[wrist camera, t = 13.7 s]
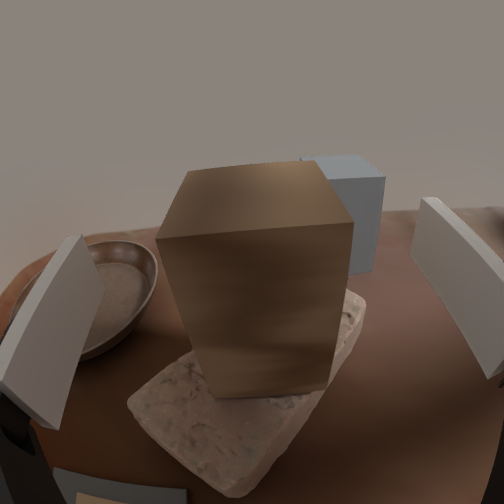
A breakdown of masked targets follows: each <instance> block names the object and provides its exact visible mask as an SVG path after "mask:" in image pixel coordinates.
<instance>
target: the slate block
mask: <svg viewBox="0 0 504 504" xmlns="http://www.w3.org/2000/svg"><path fill="white" fill-rule="evenodd" d="M308 160H315V162H316V163H317V165H318V166H319V167H320V169H321V170H322V172H323V173H324V175H325V176H326V178H327V179H328V181H329V183H330V184H331V186H332V187H333V189H334V190H335V192H336V193H337V195H338V196H339V198H340V200H341V201H342V203H343V204H344V206H345V208H346V209H347V211H348V213H349V214H350V216H351V217H352V219H353V221H354V231H353V240H352V249H351V257H350V265H349V272H348V275H353V274H360V273H367V272H371V271H372V266H373V261H374V255H375V250H376V244H377V238H378V232H379V225H380V218H381V211H382V203H383V195H384V186H385V176H384V175H383V174H382V173H381V172H379V171H378V170H377V169H376V168H375V167H373V166H372V165H371V164H370V163H368V162H367V161H366V160H365V159H363V158H362V157H361V156H360V155H331V156H314V157H313V156H312V157H300V161H308Z"/></svg>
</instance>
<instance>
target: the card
mask: <svg viewBox="0 0 504 504" xmlns="http://www.w3.org/2000/svg"><path fill="white" fill-rule="evenodd" d="M53 477H54V479H55V481H56V483H57V485H58V487H59V489H60V491H61V493H62V495H63V497H64V499H65V501H66V503H67V504H188V490H187V489H176V488H162V487H152V486H143V485H136V484H129V483H122V482H116V481H111V480H105V479H100V478H96V477H91V476H87V475H83V474H79V473H75V472H71V471H67V470H64V469H60V468H57V467H54V470H53Z"/></svg>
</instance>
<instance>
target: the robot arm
mask: <svg viewBox="0 0 504 504" xmlns="http://www.w3.org/2000/svg"><path fill="white" fill-rule="evenodd" d="M409 256H410V257H411V258H412V260H413V261H414V262H415V264H416V265H417V266H418V268H419V269H420V271H421V272H422V273H423V275H424V276H425V278H426V279H427V280H428V282H429V283H430V285H431V286H432V288H433V289H434V291H435V292H436V294H437V295H438V297H439V298H440V300H441V301H442V303H443V304H444V306H445V307H446V309H447V310H448V312H449V313H450V315H451V317H452V318H453V320H454V321H455V323H456V325H457V326H458V328H459V329H460V331H461V333H462V334H463V336H464V338H465V340H466V341H467V343H468V345H469V346H470V348H471V350H472V352H473V353H474V355H475V357H476V359H477V361H478V363H479V364H480V366H481V368H482V370H483V372H484V374H485V376H486V378H487V379H489V378H491V377H493V376H495V375H497V374H499V373H501V372H502V371H503V370H504V261H502V260H501V259H500V258H499V257H498V256H497V254H496V253H495V252H494V251H493V250H492V249H491V248H490V247H489V246H488V245H487V244H486V243H485V242H484V241H483V240H482V239H481V238H480V237H479V236H478V235H477V234H476V233H475V232H474V231H473V230H472V229H471V228H470V227H469V226H468V225H467V224H466V223H464V222H463V221H462V220H461V219H460V218H459V217H458V216H457V215H456V214H455V213H454V212H452V211H451V210H450V209H449V208H448V207H447V206H446V205H444V204H443V203H442V202H441V201H440V200H439V199H438V198H436V197H426V198H421V203H420V208H419V213H418V218H417V223H416V228H415V232H414V237H413V241H412V245H411V249H410V253H409ZM105 290H106V287H105V285H104V283H103V281H102V279H101V277H100V274H99V272H98V270H97V268H96V265H95V263H94V261H93V259H92V256H91V254H90V252H89V249H88V247H87V245H86V242H85V240H84V237H83V235H82V234H79V235H73V236H68V237H67V238H66V239H65V240H64V242H63V243H62V245H61V246H60V247H59V249H58V250H57V251H56V253H55V254H54V256H53V257H52V259H51V260H50V262H49V263H48V265H47V266H46V268H45V269H44V271H43V272H42V274H41V275H40V277H39V278H38V280H37V281H36V283H35V285H34V286H33V288H32V289H31V291H30V293H29V294H28V296H27V298H26V299H25V301H24V303H23V304H22V306H21V308H20V310H19V311H18V313H17V315H16V316H15V317H14V318H13V319H12V320H11V322H10V323H9V325H8V327H7V329H6V330H5V332H4V336H2V338H1V340H0V504H67V503H66V501H65V499H64V497H63V495H62V493H61V491H60V489H59V487H58V485H57V483H56V481H55V479H54V477H53V475H52V472H51V470H50V468H49V466H48V463H47V461H46V459H45V456H44V454H43V451H42V449H41V446H40V444H39V441H38V438H37V435H36V433H35V430H34V429H33V427H32V426H31V425H30V424H29V422H30V419H31V418H32V419H33V420H34V421H36V422H37V423H38V424H39V425H41V426H42V427H46V428H50V429H54V430H59V428H60V424H61V420H62V416H63V412H64V408H65V404H66V401H67V397H68V394H69V390H70V387H71V383H72V380H73V377H74V374H75V371H76V368H77V364H78V361H79V358H80V355H81V352H82V350H83V347H84V344H85V341H86V338H87V336H88V333H89V330H90V327H91V325H92V322H93V320H94V317H95V314H96V312H97V309H98V307H99V304H100V302H101V299H102V297H103V295H104V292H105ZM503 385H504V378H503V380H502V381H501V382H500V384H499V388H501V387H502V386H503ZM481 504H504V421H503V427H502V432H501V437H500V441H499V446H498V450H497V454H496V458H495V461H494V465H493V468H492V472H491V475H490V478H489V481H488V485H487V488H486V490H485V493H484V496H483V499H482V501H481Z"/></svg>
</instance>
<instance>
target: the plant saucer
mask: <svg viewBox="0 0 504 504" xmlns="http://www.w3.org/2000/svg"><path fill="white" fill-rule="evenodd" d="M87 247H88V249H89V252H90V254H91V256H92V259H93V261H94V263H95V265H96V268H97V270H98V272H99V274H100V277H101V279H102V281H103V283H104V285H105V287H106V290H105V292H104V295H103V297H102V299H101V302H100V304H99V307H98V309H97V312H96V314H95V317H94V320H93V322H92V325H91V327H90V330H89V333H88V336H87V338H86V341H85V344H84V347H83V350H82V352H81V355H80V358H79V361H78V362H81V361H85V360H88V359H91V358H94V357H96V356H98V355H100V354H102V353H104V352H106V351H108V350H109V349H111V348H113V347H114V346H115V345H117V344H118V343H119V342H121V341H122V340H123V339H124V338H125V337H126V336H127V335H128V334H129V333H130V332H131V331H132V330H133V329H134V328H135V326H136V325H137V324H138V322H139V321H140V319H141V318H142V316H143V314H144V313H145V311H146V309H147V307H148V305H149V303H150V300H151V298H152V295H153V292H154V289H155V286H156V282H157V276H158V266H157V261H156V259H155V257H154V255H153V254H152V252H151V251H150V250H149V249H148V248H146V247H145V246H143V245H141V244H138V243H135V242H132V241H124V240H110V241H102V242H97V243H93V244H89V245H87ZM45 268H46V267H45ZM45 268H43V269H42V270H41V271H40V272H39V273H37V274H36V275H35V276H34V277H33V278H32V279H31V280H30V281H29V282H28V284H27V285H26V286H25V287H24V289H23V290H22V291H21V293H20V295H19V296H18V298H17V300H16V302H15V304H14V306H13V308H12V311H11V315H10V319H9V323H10V322H11V320H12V319H13V318H14V317H15V316H16V315H17V313H18V311H19V310H20V308H21V306H22V304H23V303H24V301H25V299H26V298H27V296H28V294H29V293H30V291H31V289H32V288H33V286H34V285H35V283H36V281H37V280H38V278H39V277H40V275H41V274H42V272H43V271H44V269H45Z"/></svg>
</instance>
